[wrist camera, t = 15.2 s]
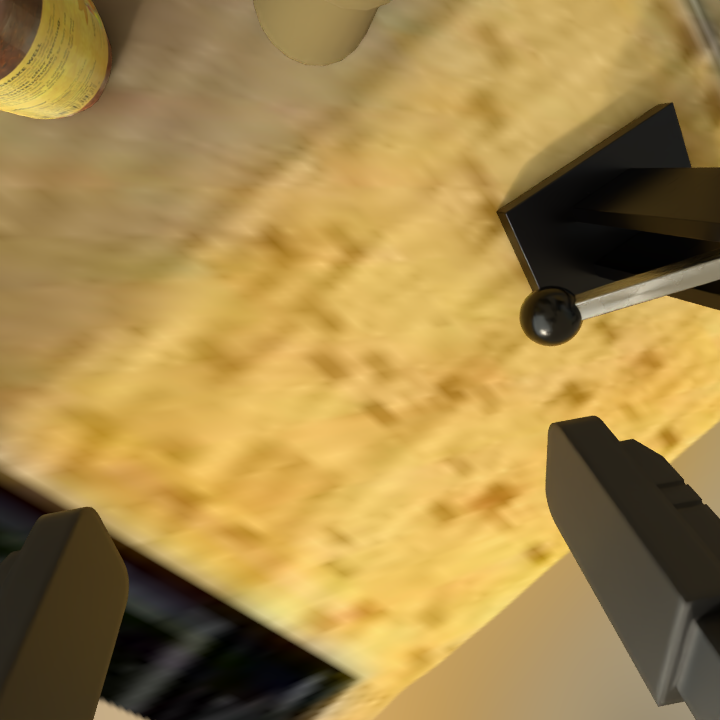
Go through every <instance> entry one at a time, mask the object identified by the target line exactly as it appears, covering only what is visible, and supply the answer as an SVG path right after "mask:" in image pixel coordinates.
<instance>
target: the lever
mask: <svg viewBox="0 0 720 720" xmlns="http://www.w3.org/2000/svg"><path fill="white" fill-rule="evenodd" d="M717 280H720V248H719V249H716V250H713V251H710V252H706V253H703V254H700V255H697V256H694V257H691V258H688V259H685V260H682V261H678V262H675V263H672V264H669V265H666V266H663V267H660V268H657V269H654V270H650V271H647V272H644V273H641V274H638V275H635V276H632V277H629V278H626V279H623V280H619V281H616V282H613V283H610V284H607V285H604V286H601V287H598V288H595V289H591V290H588V291H585V292H582V293H579V294H576V295H574V294H573V293H572V292H571V291H569V290H568V289H565V288H563V287H560V286H545V287H541V288H539V289H537V290H535V291H533V292H532V293H531V294H530V295H529V296H528V297H527V298H526V299H525V301H524V302H523V304H522V306H521V310H520V324H521V327H522V329H523V331H524V333H525V334H526V335H527V336H528V337H529V338H530V339H531V340H532V341H534V342H535V343H538V344H540V345H544V346H557V345H561V344H564V343H566V342H568V341H569V340H571V339H572V338H573V337H574V336H575V335H576V334H577V333H578V331H579V330H580V328H581V325H582V322H583V320H585V319H588V318H592V317H595V316H599V315H602V314H605V313H609V312H612V311H615V310H619V309H622V308H626V307H629V306H632V305H636V304H639V303H642V302H646V301H649V300H653V299H656V298H659V297H663V296H666V295H669V294H673V293H676V292H680V291H683V290H686V289H690V288H693V287H696V286H700V285H703V284H706V283H710V282H713V281H717Z"/></svg>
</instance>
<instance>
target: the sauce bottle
mask: <svg viewBox="0 0 720 720" xmlns="http://www.w3.org/2000/svg"><path fill="white" fill-rule="evenodd" d="M111 66H112V53H111V45H110V42H109V40H108V36H107V34H106V31H105V28H104V25H103V23H102V20H101V18H100V16H99V14H98V11H97V9H96V7H95V6H94V4H93V2H92V0H0V110H2V111H6V112H11V113H14V114H17V115H23V116H27V117H31V118H37V119H54V118H63V117H70V116H72V115H74V114H76V113H79V112H81V111H84V110H85V109H87V108H90V107H91V106H92V105H93V104H94V103H96V102H97V101H98V100H99V97H100V95H101V94H102V93H103V91H104V88H105V86H106V84H107V82H108V78H109V76H110V72H111Z"/></svg>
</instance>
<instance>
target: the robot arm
mask: <svg viewBox="0 0 720 720" xmlns="http://www.w3.org/2000/svg"><path fill="white" fill-rule="evenodd" d="M546 497H547V502H548V506H549V509H550V512H551V515H552V517H553V520H554V522H555V524H556V526H557V527H558V529H559V531H560V533H561V534H562V536H563V538H564V540H565V542H566V543H567V545H568V547H569V549H570V550H571V552H572V554H573V556H574V558H575V559H576V561H577V563H578V565H579V566H580V568H581V570H582V572H583V574H584V575H585V577H586V579H587V581H588V582H589V584H590V586H591V588H592V589H593V591H594V593H595V595H596V597H597V599H598V600H599V602H600V604H601V606H602V607H603V609H604V611H605V613H606V615H607V616H608V618H609V620H610V622H611V623H612V625H613V627H614V629H615V631H616V632H617V634H618V636H619V638H620V639H621V641H622V643H623V645H624V647H625V648H626V650H627V652H628V653H629V655H630V657H631V659H632V661H633V663H634V664H635V666H636V668H637V670H638V671H639V673H640V675H641V677H642V679H643V680H644V682H645V684H646V686H647V688H648V689H649V691H650V693H651V694H652V696H653V698H654V700H655V702H656V703H657V705H658V707H659V706H664V705H669V704H674V703H679V702H684V701H685V703H686V704H687V706H688V708H689V709H690V711H691V713H692V714H693V716H694V718H695V719H696V720H720V519H719V518H718V516H717V515H716V514H715V513H714V512H713V511H712V510H711V509H710V508H709V507H708V505H707V504H705V505H704V504H703V503H702V499H701V498H700V497H699V496H698V494H697V493H696V492H695V491H694V490H693V489H692V488H691V487H690V486H689V485H688V484H687V485H686V484H685V483H684V479H683V478H682V477H681V476H680V475H679V474H678V473H677V471H676V470H675V469H674V468H673V467H672V466H671V465H670V464H669V463H668V462H667V461H666V459H665V458H664V457H663V456H661V455H659V454H658V453H656V452H654V451H653V450H651V449H649V448H648V447H646V446H644V445H642V444H641V443H639V442H637V441H636V440H634V439H630V440H625V441H619V440H618V439H617V438H616V437H615V436H614V434H613V433H612V432H611V431H610V430H609V428H608V427H607V426H606V425H605V424H604V422H603V421H602V420H601V419H600V418H598V417H597V416H588V417H583V418H577V419H572V420H567V421H561V422H556V423H552V424H551V425H550V427H549V430H548V445H547V465H546ZM128 592H129V581H128V573H127V569H126V566H125V564H124V562H123V560H122V558H121V556H120V554H119V552H118V550H117V548H116V547H115V545H114V543H113V541H112V539H111V537H110V535H109V533H108V532H107V530H106V528H105V526H104V524H103V522H102V520H101V518H100V516H99V515H98V513H97V512H96V511H95V509H93V508H91V507H83V508H78V509H73V510H67V511H62V512H56V513H51V514H45V515H42V516H41V517H40V518H39V519H38V520H37V521H36V523H35V524H34V526H33V528H32V530H31V532H30V534H29V536H28V537H27V539H26V541H25V543H24V545H23V547H22V549H21V551H16V552H11V553H10V554H9V555H8V556H7V557H6V559H5V560H4V561H3V562H2V563H1V564H0V720H93V719H94V715H95V712H96V708H97V705H98V701H99V698H100V694H101V691H102V687H103V684H104V680H105V677H106V673H107V670H108V666H109V663H110V659H111V656H112V652H113V649H114V645H115V642H116V638H117V635H118V631H119V628H120V624H121V621H122V617H123V614H124V611H125V607H126V604H127V599H128Z"/></svg>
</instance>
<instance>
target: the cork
mask: <svg viewBox="0 0 720 720" xmlns="http://www.w3.org/2000/svg"><path fill="white" fill-rule="evenodd" d="M390 1H391V0H253V2H254V7H255V10H256V13H257V16H258V19H259V22H260V25H261V27H262V29H263V30H264V32H265V33H266V35H267V36H268V38H269V39H270V41H271V42H272V44H273V45H274V46H275V47H277V48H278V49H279V50H280V51H281V52H283V53H284V54H285V55H286V56H287V57H288V58H291V59H293V60H296V61H298V62H300V63H303V64H305V65H317V66H325V65H329V64H332V63H335V62H338V61H341V60H343V59H344V58H345V57H346V56H348V55H349V54H350V53H352V52H353V51H354V50H355V49H356V48H357V47H358V45H359V44H360V42H361V41H362V39H363V37H364V36H365V34H366V33H367V31H368V29H369V26H370V24H371V22H372V20H373V18H374V16H375V13H376V11H377V9H378V7H379V6H382V5H385V4H387V3H389V2H390Z"/></svg>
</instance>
